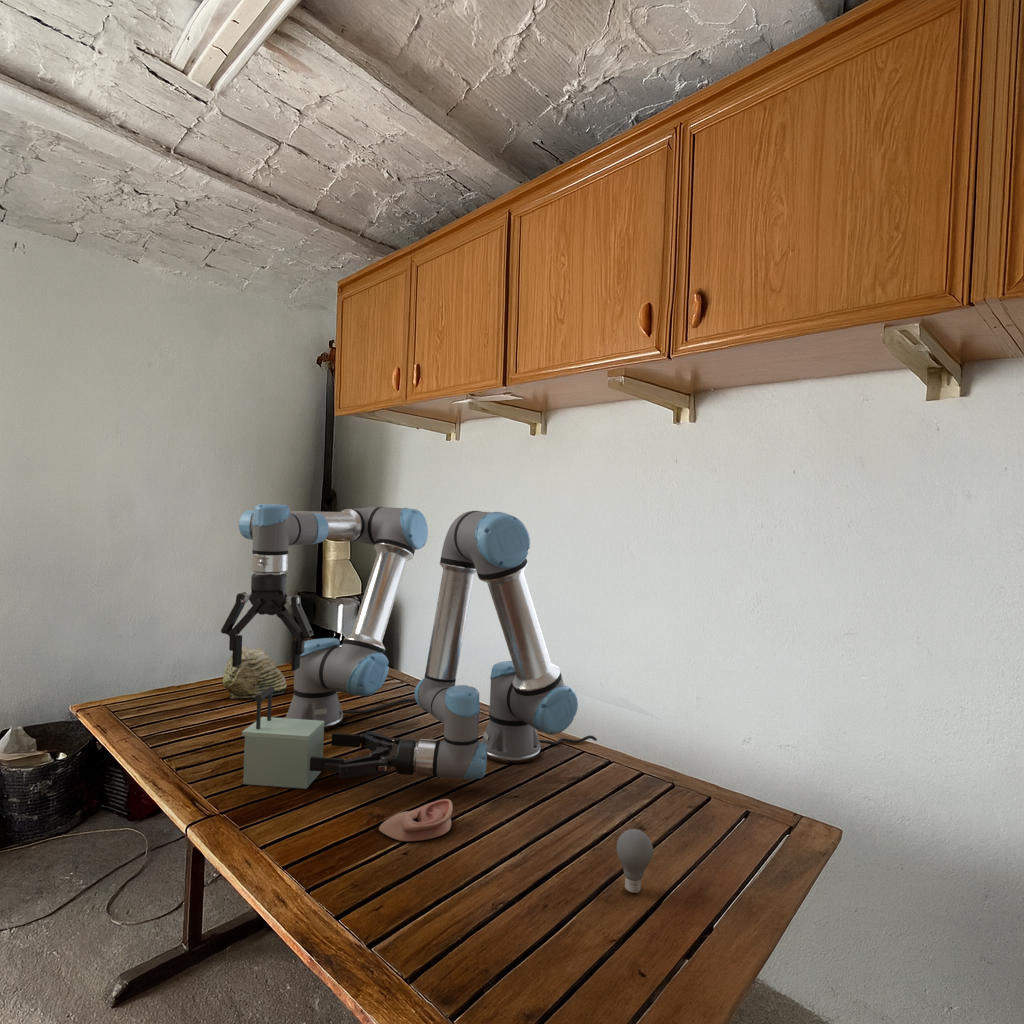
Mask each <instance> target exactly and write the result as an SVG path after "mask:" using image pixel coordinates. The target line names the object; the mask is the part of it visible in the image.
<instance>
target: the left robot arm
mask: <svg viewBox="0 0 1024 1024" xmlns="http://www.w3.org/2000/svg"><path fill="white" fill-rule="evenodd" d="M238 530H239V533H240V535H241V536H242V537H243V538H245V539H246V540H250V541H252V554H251V557H252V558H251V571H252V572H253V573H252V574H251V575H250V576H251V577H250V580H251V581H250V590H251V592H250V593H247V592H246V591H242V592H240V593H239V592H238V593H237V594H236V597H235V603H234V605H233V607H232V609H231V610H230V612H229V614H228V616H227V618H226V620H225V622H224V624H223V626H222V627H221V629H220V633H221V634H223V635H228V638H229V644H228V649H229V651H230V652H232V653H233V656H232V667H236V666H238V665H240V664H241V660H242V647H243V635H242V634H241V632H242V631H243V630H244V629H245V628H246V626H247V625H248V624H249V623H250V622H251V621H252V620H253V619H254V618H255V617H256V615H257V614H259V615H263V616H264V615H267V616H275V615H276V617H278V618H279V619H280V620H281V622H282V623H283V624H284V625H285V627H286V628H287V629H288V631H289V632H290V633H291V635H292V636H293V637H294V640H292V644H291V645H292V647H291V669H290V670H291V671H292V672H293V695H292V696H293V697H292V699H291V702H290V704H289V708H288V711H287V713H286V715H285V718H289V719H304V720H319V721H324V732H325V731H329V730H332V729H335V728H337V727H339V726H340V725H342V723H343V722H344V714H366V713H371V712H375V711H378V710H380V709H383V708H384V709H385V708H388V707H390V706H393V705H397V704H400V703H401V704H402V703H407V702H416V700H415V697H413V698H403V699H398V700H394V701H391V702H388V703H385V704H384V703H383V704H380V705H378V706H375V707H371V708H367V709H359V710H357V709H356V710H355V709H346V710H345V709H342V706H341V702H340V699H339V695H338V692H340V693H344V694H349V695H352V696H355V697H358V696H359V697H360V696H361V697H370V696H372V695H374V694H376V692H378V691H379V690H380V689H381V688H382V687H383V685H384V684H385V682H386V679H387V677H388V674H389V669H390V667H389V659H388V657H387V656H386V655H385V653H386V647H385V645H384V644H383V640H384V636H385V633H386V630H387V628H388V624H389V621H390V617H391V614H392V611H393V607H394V604H395V601H396V597H397V593H398V591H399V588H400V584H401V580H402V577H403V574H404V572H405V571H404V570H405V567H406V564H407V562H408V561H410V560H413V559H414V556H415V552H416V551H418V550H421V549H423V548H424V547H425V545H426V544H427V541H428V537H429V527H428V523H427V519H426V517H425V516H424V514H423V513H422V511H420V510H418V509H415V508H409V507H392V506H391V507H390V506H389V507H388V506H386V507H385V506H368V507H360V508H359V507H358V508H345V509H343V510H341V511H313V510H312V511H310V510H309V511H305V510H297V511H296V510H290V506H289V505H288V504H279V503H278V504H277V503H259V504H256V505H255V506H254V509H249V510H246V511H245V512H243V513H242V515H241V516H240V518H239V520H238ZM335 539H336V540H337V539H340V540H342V541H343V542H346V543H347V542H348V543H351V542H354V543H361V544H366V545H372V546H373V547H374V549H375V551H376V557H375V560H374V563H373V566H372V569H371V572H370V576H369V578H368V581H367V585H366V588H365V591H364V593H363V596H362V600H361V603H360V606H359V608H358V609H359V610H358V612H357V615H356V619H355V621H354V625H353V628H352V632H351V634H349V635H348V636H346V637H344V638H343V641H342V643H340V640H339V639H338V638H335V637H322V638H313V639H310V638H311V637H313V636H314V630H313V629H312V626H311V624H310V622H309V619H308V617H307V615H306V613H305V610H304V608H303V606H302V601H301V600H302V599H301V595H299V594H296V595H292V596H291V595H289V596H288V595H287V588H288V575H287V572H288V568H289V567H288V564H289V546H296V545H297V546H298V545H299V546H301V545H310V546H311V545H312V546H313V545H315V544H320V543H323V542H324V541H325V540H335ZM248 602H250V604H251V607H250V608H249V609H248V610H247V611H246V614H244V615H243V616H242V618H241V619H240V620H239V621H238V618H239V617H240V616H241V613H242V611H243V609H244V608H245V606H246V604H247V603H248ZM286 604H288V605H289V606H290V607H291V610H292V612H293V615H294V617H295V619H294V618H293V617H292V615H291V614H290V612H289V611H290V610H289V609H288V608H287V607H286ZM237 621H238V622H237ZM296 621H297V622H296ZM236 622H237V623H236ZM307 639H308V640H307ZM340 644H341V646H340Z"/></svg>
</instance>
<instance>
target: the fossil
mask: <svg viewBox="0 0 1024 1024" xmlns="http://www.w3.org/2000/svg"><path fill="white" fill-rule="evenodd" d="M232 656H233V652H232V653H231V656H230V657H229V659H228V660H227V663H226V666H225V668H224V671H223V675H222V676H223V677H222V685H223V687H224V688H225V690H226V691H228V693H229V698H230V699H250V698H255V696H256V695H258V694H259V693H261V692H262V691H264V690H266V689H267V688H269V687H273V688H274V689H275V691H274V693H273V694H272V696H275V695H281V694H284V693H285V691H286V689H287V687H288V686H287V680H286V678H285V676H284V674H283V673H282V672H281V669H279V668H278V667H277V665H276V663H275V662H274V660H273V659H272V658H271V657H270V656H269V655H268V654H267V653H266V652H265V650H264V649H263V648H260V647H258V648H251V647H247V646H246V647H245V646H242V660H241V664H240V665H238V666H236V667H232Z"/></svg>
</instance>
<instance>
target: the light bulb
mask: <svg viewBox="0 0 1024 1024" xmlns="http://www.w3.org/2000/svg"><path fill="white" fill-rule="evenodd" d="M615 849H616V854H617V857H618V859H619V861H620V863H621V865H622V867H623V873H624V874H623V875H624V876H625V878H624V888H625V890H627V891H628V892H630V893H634V894H635V893H639V892H640V891H641V889H642V887H641V886H642V879H643V877H644V875H645V871H646V868H647V867H648V866H649V864H650V863H651V861H652V859H653V855H654V847H653V843H652V841H651V838H649V836H648V835H647V834H646V833H645V832H643V831H642V830H641V829H636V828H629V829H627V830H625V831H623V832H622V833H621V834H620V835H619V837H618V839H617V841H616V847H615Z"/></svg>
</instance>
